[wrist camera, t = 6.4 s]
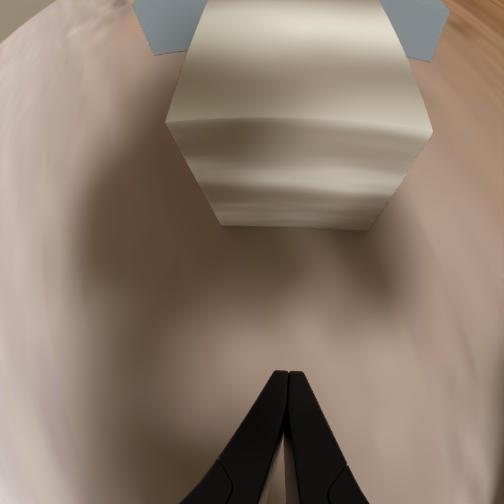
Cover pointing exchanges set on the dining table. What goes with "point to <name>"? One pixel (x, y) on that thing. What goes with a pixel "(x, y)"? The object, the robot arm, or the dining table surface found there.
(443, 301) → the dining table surface
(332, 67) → the block
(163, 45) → the board
